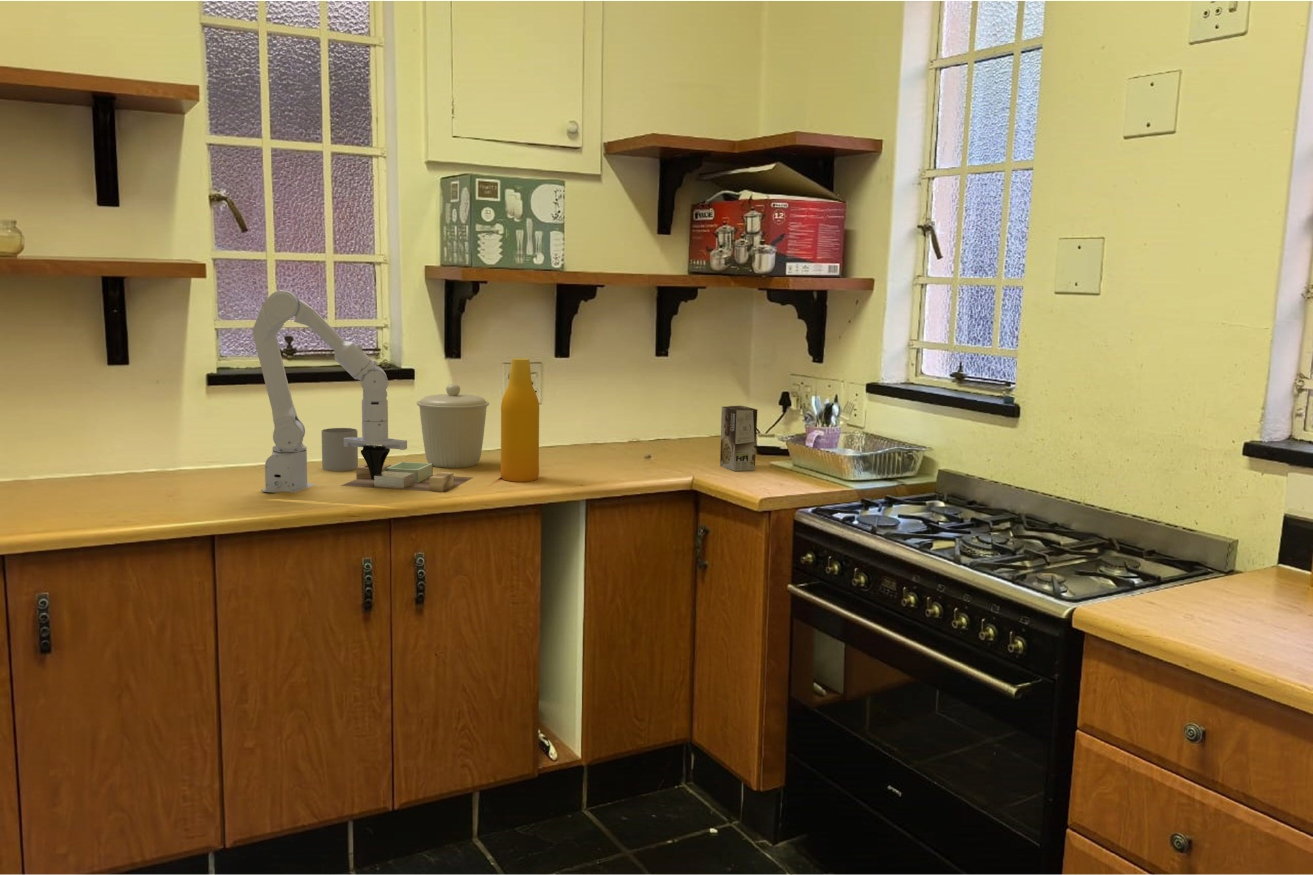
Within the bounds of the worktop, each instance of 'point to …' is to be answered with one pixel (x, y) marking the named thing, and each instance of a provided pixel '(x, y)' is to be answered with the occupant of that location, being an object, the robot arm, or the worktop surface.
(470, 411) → the canister
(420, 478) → the tray
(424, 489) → the bench board
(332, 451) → the cup
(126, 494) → the worktop surface
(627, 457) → the worktop surface
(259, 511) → the worktop surface
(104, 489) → the worktop surface
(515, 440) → the beer bottle
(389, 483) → the grey flat block
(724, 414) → the coffee box
